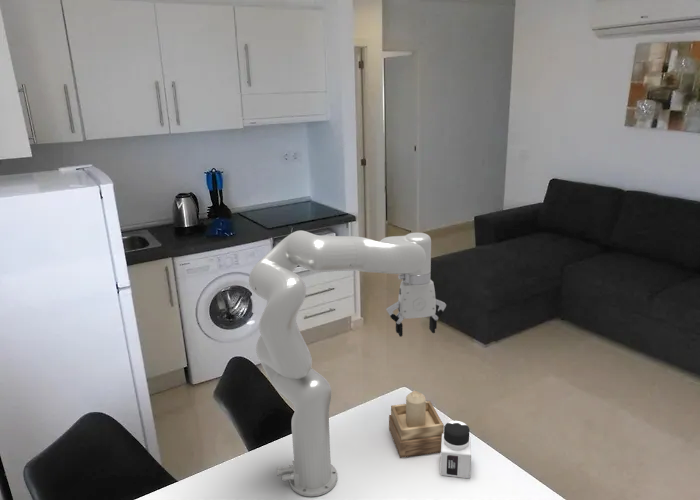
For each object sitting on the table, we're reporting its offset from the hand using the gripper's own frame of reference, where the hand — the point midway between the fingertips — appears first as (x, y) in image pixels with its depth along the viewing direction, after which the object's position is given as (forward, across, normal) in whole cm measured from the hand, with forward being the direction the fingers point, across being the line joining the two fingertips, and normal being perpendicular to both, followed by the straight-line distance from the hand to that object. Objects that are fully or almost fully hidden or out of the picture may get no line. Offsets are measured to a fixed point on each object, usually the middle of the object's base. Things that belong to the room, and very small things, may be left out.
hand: (416, 332), depth 151 cm
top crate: (+25, -2, -8) cm, 27 cm away
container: (+31, +5, -21) cm, 37 cm away
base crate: (+30, -2, -8) cm, 31 cm away
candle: (+25, -2, -8) cm, 26 cm away
